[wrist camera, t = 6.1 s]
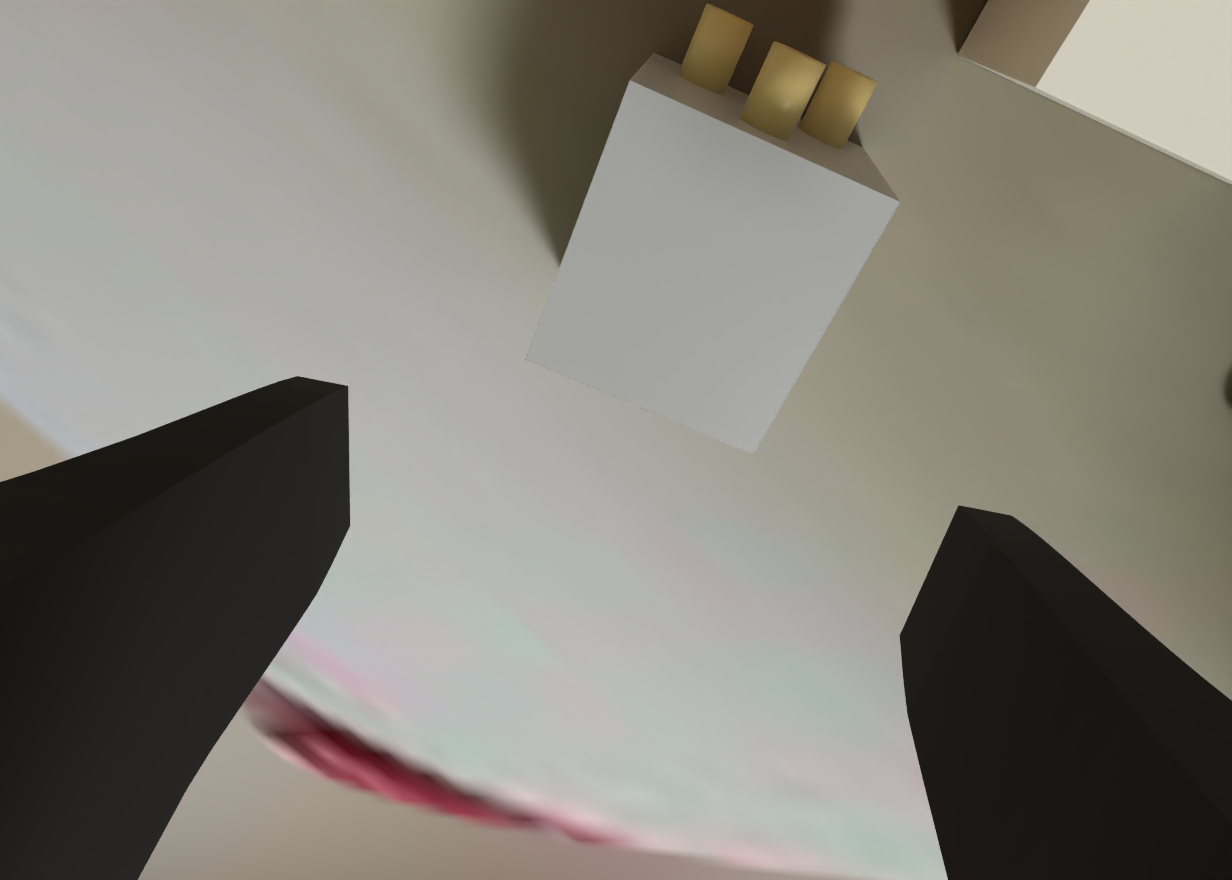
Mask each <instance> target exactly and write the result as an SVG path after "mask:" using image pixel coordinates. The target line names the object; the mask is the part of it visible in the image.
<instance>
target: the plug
mask: <svg viewBox="0 0 1232 880" xmlns="http://www.w3.org/2000/svg"><path fill="white" fill-rule="evenodd" d="M753 26H754V25H753V24H751V23H750V22H748V21H746V20H744V19H742V18H740V17H738V16H736V15H734V14H732V13H730V12H727V11H725V10H723V9H721V8H718V7H716V6H713V5H711V4H708V3H707V4H706V6H705V9H704V11H703V13H702V16H701V18H700V21H699V23H698V26H697V28H696V31H695V33H694V36H693V38H692V41H691V43H690V46H689V48H688V51H687V53H686V56H685V58H684V61H683V63H682V65H681V64H679V63H676V62H674V61H672V60H670V59H668V58H665V57H663V56H661V55H659V54H657V53H653V54H652V55H651V56H650V57H649V59H648V60H647V61H646V62H645V63H644V64H643V65H642V67H641V68H640V69H639V70H638V71H637V72H636V73H635V75H634V76H633V77H632V78H631V79H630V81H629V83H628V86H627V89H626V91H625V94H624V97H623V99H622V102H621V105H620V107H619V110H618V113H617V115H616V118H615V121H614V123H613V126H612V129H611V131H610V134H609V137H608V139H607V142H606V145H605V147H604V150H603V153H602V155H601V158H600V161H599V163H598V166H597V169H596V171H595V174H594V177H593V179H592V182H591V185H590V187H589V190H588V193H587V195H586V198H585V201H584V203H583V206H582V209H581V211H580V214H579V217H578V219H577V222H576V225H575V227H574V230H573V233H572V235H571V238H570V241H569V243H568V246H567V249H566V251H565V254H564V257H563V259H562V262H561V265H560V267H559V270H558V273H557V275H556V278H555V281H554V283H553V286H552V289H551V291H550V294H549V297H548V299H547V302H546V305H545V307H544V310H543V313H542V315H541V318H540V321H539V323H538V326H537V329H536V331H535V334H534V337H533V339H532V342H531V345H530V347H529V350H528V353H527V355H526V358H525V360H527V361H529V362H531V363H534V364H536V365H539V366H541V367H544V368H546V369H548V370H551V371H553V372H556V373H558V374H560V375H563V376H565V377H568V378H570V379H573V380H575V381H577V382H580V383H582V384H585V385H587V386H589V387H592V388H594V389H597V390H599V391H602V392H604V393H606V394H609V395H611V396H614V397H616V398H618V399H621V400H623V401H626V402H628V403H631V404H633V405H635V406H638V407H640V408H643V409H645V410H647V411H650V412H652V413H655V414H657V415H660V416H662V417H664V418H667V419H669V420H672V421H674V422H676V423H679V424H681V425H684V426H686V427H689V428H691V429H693V430H696V431H698V432H701V433H703V434H706V435H708V436H710V437H713V438H715V439H718V440H720V441H722V442H725V443H727V444H730V445H732V446H735V447H737V448H739V449H742V450H744V451H747V452H749V453H751V454H754V452H755V450H756V449H757V447H758V445H759V443H760V442H761V440H762V438H763V437H764V435H765V433H766V431H767V430H768V428H769V426H770V425H771V423H772V421H773V419H774V418H775V416H776V414H777V413H778V411H779V409H780V407H781V406H782V404H783V402H784V401H785V399H786V397H787V395H788V394H789V392H790V390H791V389H792V387H793V385H794V383H795V382H796V380H797V378H798V377H799V375H800V373H801V371H802V370H803V368H804V366H805V365H806V363H807V361H808V359H809V358H810V356H811V354H812V353H813V351H814V349H815V347H816V346H817V344H818V342H819V341H820V339H821V337H822V335H823V334H824V332H825V330H826V329H827V327H828V325H829V323H830V322H831V320H832V318H833V317H834V315H835V313H836V311H837V310H838V308H839V306H840V305H841V303H842V301H843V299H844V298H845V296H846V294H847V293H848V291H849V289H850V287H851V286H852V284H853V282H854V281H855V279H856V277H857V275H858V274H859V272H860V270H861V269H862V267H863V265H864V263H865V262H866V260H867V258H868V257H869V255H870V253H871V251H872V250H873V248H874V246H875V245H876V243H877V241H878V239H879V238H880V236H881V234H882V233H883V231H884V229H885V227H886V226H887V224H888V222H889V221H890V219H891V217H892V215H893V214H894V212H895V210H896V209H897V207H898V205H899V203H900V201H899V199H898V198H897V196H896V195H895V193H894V192H893V191H892V189H891V188H890V186H889V185H888V183H887V182H886V180H885V179H884V177H883V176H882V175H881V173H880V172H879V170H878V169H877V167H876V166H875V164H874V163H873V161H872V160H871V158H870V157H869V156H868V154H867V153H866V151H865V150H864V148H863V147H861V146H859V145H857V144H855V143H852V142H850V141H848V138H849V136H850V135H851V133H852V131H853V129H854V127H855V125H856V123H857V121H858V119H859V117H860V116H861V114H862V112H863V110H864V108H865V106H866V104H867V102H868V100H869V99H870V97H871V95H872V93H873V91H874V89H875V87H876V85H877V82H876V81H874V80H873V79H871V78H869V77H867V76H865V75H863V74H861V73H859V72H857V71H855V70H852V69H850V68H848V67H846V66H844V65H841V64H839V63H837V62H834V61H831V63H830V65H829V67H828V69H827V71H826V73H825V75H824V77H823V79H822V81H821V83H820V85H819V87H818V89H817V91H816V93H815V95H814V97H813V99H812V101H811V103H810V105H809V107H808V109H807V112H806V114H805V116H804V118H803V120H802V119H800V118H801V116H802V114H803V112H804V110H805V108H806V105H807V103H808V101H809V99H810V97H811V95H812V93H813V91H814V89H815V87H816V85H817V83H818V81H819V79H820V77H821V75H822V73H823V71H824V69H825V67H826V65H825V64H823V63H822V62H820V61H818V60H816V59H814V58H812V57H810V56H808V55H806V54H804V53H802V52H800V51H798V50H796V49H793V48H791V47H789V46H786V45H784V44H782V43H779V42H776V41H774V42H773V44H772V46H771V48H770V51H769V53H768V55H767V57H766V59H765V62H764V64H763V66H762V68H761V70H760V73H759V75H758V77H757V79H756V82H755V84H754V86H753V88H752V90H751V93H750V95H747V94H745V93H742V92H740V91H738V90H736V89H734V88H731V87H729V86H728V83H729V81H730V79H731V77H732V74H733V72H734V70H735V67H736V65H737V63H738V60H739V58H740V56H741V54H742V51H743V49H744V47H745V44H746V42H747V40H748V38H749V35H750V33H751V31H752V28H753Z"/></svg>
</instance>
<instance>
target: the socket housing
mask: <svg viewBox="0 0 1232 880" xmlns="http://www.w3.org/2000/svg"><path fill="white" fill-rule="evenodd" d="M957 55H958V56H960V57H963V58H965V59H967V60H969V61H971V62H973V63H975V64H977V65H979V66H982V67H984V68H986V69H988V70H990V71H992V72H994V73H996V74H998V75H1001V76H1003V77H1005V78H1007V79H1009V80H1011V81H1013V82H1015V83H1017V84H1020V85H1022V86H1024V87H1026V88H1028V89H1030V90H1032V91H1034V92H1037V93H1039V94H1041V95H1043V96H1045V97H1047V98H1049V99H1051V100H1053V101H1056V102H1058V103H1060V104H1062V105H1064V106H1066V107H1068V108H1070V109H1072V110H1075V111H1077V112H1079V113H1081V114H1083V115H1085V116H1087V117H1089V118H1091V119H1094V120H1096V121H1098V122H1100V123H1102V124H1104V125H1106V126H1108V127H1110V128H1113V129H1115V130H1117V131H1119V132H1121V133H1123V134H1125V135H1127V136H1129V137H1132V138H1134V139H1136V140H1138V141H1140V142H1142V143H1144V144H1146V145H1148V146H1151V147H1153V148H1155V149H1157V150H1159V151H1161V152H1163V153H1165V154H1167V155H1170V156H1172V157H1174V158H1176V159H1178V160H1180V161H1182V162H1184V163H1186V164H1189V165H1191V166H1193V167H1195V168H1197V169H1199V170H1201V171H1203V172H1205V173H1208V174H1210V175H1212V176H1214V177H1216V178H1218V179H1220V180H1222V181H1224V182H1227V183H1229V184H1231V185H1232V0H988V2H987V3H986V5H985V7H984V9H983V10H982V12H981V14H980V16H979V17H978V19H977V21H976V23H975V24H974V26H973V28H972V30H971V31H970V33H969V35H968V37H967V39H966V40H965V42H964V44H963V46H962V47H961V49H960V51H959V53H958V54H957Z"/></svg>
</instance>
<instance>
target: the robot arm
mask: <svg viewBox="0 0 1232 880" xmlns="http://www.w3.org/2000/svg"><path fill="white" fill-rule="evenodd" d="M349 527H350V489H349V418H348V386H345V385H340V384H335V383H330V382H324V381H319V380H314V379H309V378H304V377H299V376H297V377H293V378H290V379H286V380H282V381H279V382H276V383H273V384H270V385H268V386H265V387H262V388H259V389H256V390H254V391H251V392H248V393H246V394H243V395H241V396H238V397H235V398H233V399H230V400H228V401H225V402H223V403H220V404H217V405H215V406H212V407H210V408H207V409H205V410H202V411H200V412H197V413H194V414H192V415H189V416H187V417H184V418H181V419H179V420H176V421H174V422H171V423H169V424H166V425H163V426H161V427H158V428H156V429H153V430H150V431H148V432H145V433H143V434H140V435H137V436H135V437H132V438H129V439H126V440H123V441H121V442H118V443H115V444H112V445H109V446H106V447H103V448H100V449H98V450H95V451H92V452H89V453H86V454H83V455H80V456H78V457H75V458H72V459H69V460H66V461H63V462H60V463H57V464H55V465H52V466H49V467H46V468H43V469H40V470H37V471H35V472H31V473H28V474H25V475H22V476H18V477H15V478H12V479H9V480H6V481H3V482H0V880H138V878H139V876H140V874H141V872H142V871H143V869H144V867H145V865H146V863H147V861H148V859H149V858H150V856H151V854H152V852H153V850H154V848H155V847H156V845H157V843H158V841H159V839H160V837H161V835H162V834H163V832H164V830H165V828H166V826H167V825H168V823H169V821H170V819H171V817H172V815H173V813H174V812H175V810H176V808H177V806H178V804H179V802H180V801H181V799H182V797H183V795H184V793H185V792H186V790H187V788H188V786H189V785H190V783H191V782H192V780H193V778H194V777H195V775H196V774H197V772H198V770H199V769H200V767H201V765H202V764H203V762H204V761H205V759H206V757H207V756H208V754H209V753H210V751H211V750H212V748H213V746H214V745H215V744H216V742H217V741H218V739H219V738H220V736H221V735H222V733H223V732H224V730H225V729H226V728H227V726H228V725H229V723H230V722H231V720H232V719H233V717H234V716H235V714H236V713H237V711H238V710H239V709H240V707H241V706H242V704H243V703H244V701H245V700H246V698H247V697H248V695H249V694H250V692H251V691H252V689H253V688H254V687H255V685H256V684H257V682H258V681H259V679H260V678H261V676H262V675H263V673H264V672H265V670H266V669H267V668H268V666H269V665H270V663H271V662H272V660H273V659H274V657H275V656H276V654H277V653H278V651H279V650H280V648H281V647H282V646H283V644H284V643H285V641H286V640H287V638H288V637H289V635H290V634H291V632H292V631H293V629H294V628H295V626H296V625H297V623H298V622H299V620H300V619H301V617H302V616H303V614H304V613H305V611H306V610H307V608H308V607H309V605H310V603H311V602H312V600H313V599H314V597H315V596H316V594H317V592H318V590H319V588H320V586H321V585H322V583H323V581H324V579H325V577H326V575H327V573H328V571H329V569H330V567H331V565H332V563H333V561H334V559H335V557H336V554H337V552H338V550H339V548H340V546H341V544H342V542H343V540H344V537H345V535H346V533H347V531H348V529H349ZM900 644H901V656H902V668H903V679H904V688H905V697H906V705H907V714H908V718H909V722H910V727H911V731H912V736H913V740H914V744H915V748H916V752H917V756H918V761H919V765H920V769H921V773H922V777H923V781H924V785H925V789H926V793H927V797H928V801H929V805H930V809H931V813H932V817H933V821H934V825H935V829H936V833H937V837H938V841H939V845H940V849H941V853H942V857H943V861H944V865H945V869H946V873H947V877H948V880H1232V701H1231V700H1230V699H1229V698H1228V697H1226V696H1225V695H1224V694H1223V693H1221V692H1220V691H1219V690H1218V689H1216V688H1215V687H1214V686H1213V685H1211V684H1210V683H1209V682H1208V681H1206V680H1205V679H1204V678H1203V677H1201V676H1200V675H1199V674H1198V673H1197V672H1195V671H1194V670H1193V669H1192V668H1191V667H1189V666H1188V665H1187V664H1186V663H1185V662H1183V661H1182V660H1181V659H1180V658H1179V657H1177V656H1176V655H1175V654H1174V653H1173V652H1171V651H1170V650H1169V649H1168V648H1167V647H1166V646H1164V645H1163V644H1162V643H1161V642H1160V641H1159V640H1157V639H1156V638H1155V637H1154V636H1153V635H1152V634H1150V633H1149V632H1148V631H1147V630H1146V629H1145V628H1144V627H1142V626H1141V625H1140V624H1139V623H1138V622H1137V621H1136V620H1134V619H1133V618H1132V617H1131V616H1130V615H1129V614H1128V613H1126V612H1125V611H1124V610H1123V609H1122V608H1121V607H1120V606H1118V605H1117V604H1116V603H1115V602H1114V601H1113V600H1112V599H1111V598H1109V597H1108V596H1107V595H1106V594H1105V593H1104V592H1103V591H1101V590H1100V589H1099V588H1098V587H1097V586H1096V585H1095V584H1094V583H1092V582H1091V581H1090V580H1089V579H1088V578H1087V577H1086V576H1084V575H1083V574H1082V573H1081V572H1080V571H1079V570H1078V569H1077V568H1075V567H1074V566H1073V565H1072V564H1071V563H1070V562H1069V561H1067V560H1066V559H1065V558H1064V557H1063V556H1062V555H1061V554H1059V553H1058V552H1057V551H1056V550H1055V549H1053V548H1052V547H1051V546H1050V545H1049V544H1048V543H1046V542H1045V541H1044V540H1043V539H1042V538H1040V537H1039V536H1038V535H1037V534H1036V533H1034V532H1033V531H1032V530H1030V529H1029V528H1028V527H1027V526H1025V525H1024V524H1022V523H1021V522H1020V521H1018V520H1017V519H1016V518H1014V517H1013V516H1010V515H1005V514H1000V513H995V512H990V511H985V510H980V509H975V508H969V507H964V506H958V508H957V510H956V512H955V514H954V517H953V519H952V521H951V523H950V525H949V528H948V530H947V532H946V534H945V537H944V539H943V541H942V543H941V545H940V548H939V550H938V552H937V554H936V556H935V559H934V561H933V563H932V565H931V567H930V570H929V572H928V574H927V576H926V579H925V581H924V583H923V585H922V587H921V590H920V592H919V594H918V596H917V598H916V601H915V603H914V605H913V607H912V610H911V612H910V614H909V616H908V618H907V621H906V623H905V625H904V627H903V629H902V632H901V634H900Z"/></svg>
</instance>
